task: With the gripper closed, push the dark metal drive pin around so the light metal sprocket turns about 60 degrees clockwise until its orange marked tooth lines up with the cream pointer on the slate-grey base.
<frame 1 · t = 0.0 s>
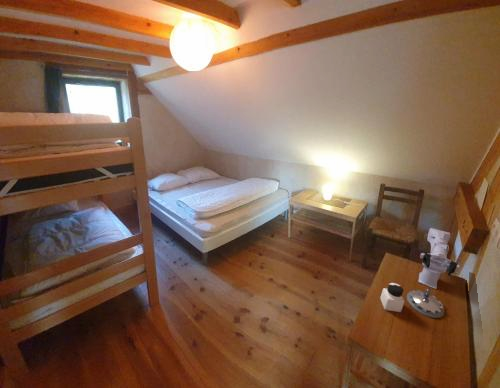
hand: (438, 269, 103), 22 cm above the table, tool horizontal, fingers open, 7 cm apart
medicine bottle: (390, 305, 112), on the table
sprocket: (424, 304, 112), resting on sprocket base, hinge at 0.0°
sprocket base: (424, 304, 112), on the table
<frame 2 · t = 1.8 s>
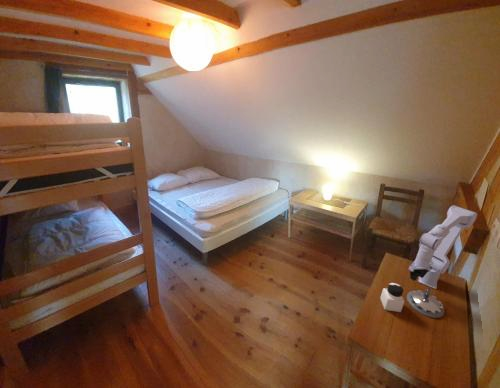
hand: (416, 278, 115), 9 cm above the table, tool pointing down, fingers open, 5 cm apart
nothing on the table moved.
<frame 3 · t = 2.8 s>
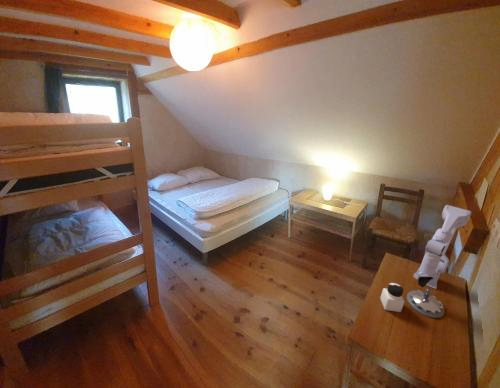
hand: (421, 285, 111), 9 cm above the table, tool pointing down, fingers closed
nothing on the table moved.
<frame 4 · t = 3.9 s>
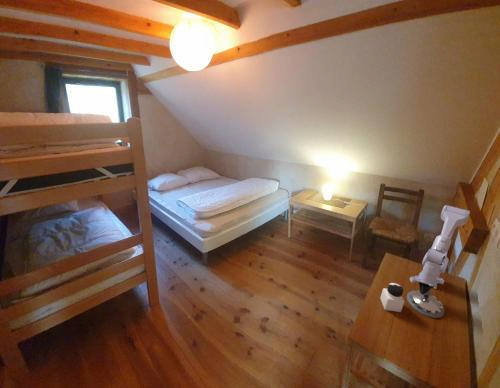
hand: (421, 292, 114), 3 cm above the table, tool pointing down, fingers closed
sprocket: (424, 304, 112), resting on sprocket base, hinge at -0.2°, touching gripper
everything else where it was.
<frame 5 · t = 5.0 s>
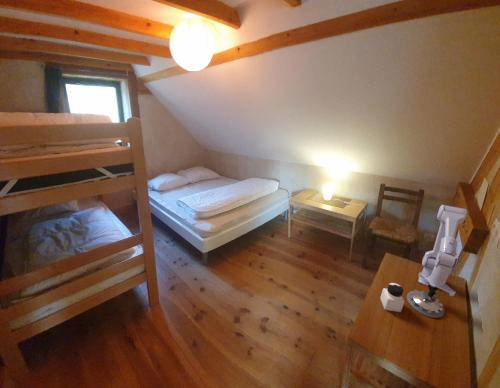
hand: (430, 296, 112), 3 cm above the table, tool pointing down, fingers closed, pressing on sprocket
sprocket: (424, 304, 112), resting on sprocket base, hinge at -44.2°, touching gripper
everything else where it was.
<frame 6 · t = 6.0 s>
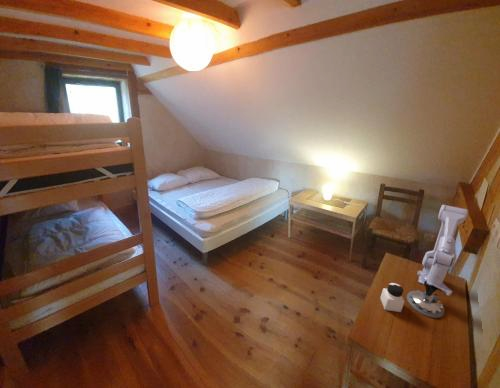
hand: (428, 294, 113), 3 cm above the table, tool pointing down, fingers closed
sprocket: (424, 304, 112), resting on sprocket base, hinge at -57.6°
everything else where it was.
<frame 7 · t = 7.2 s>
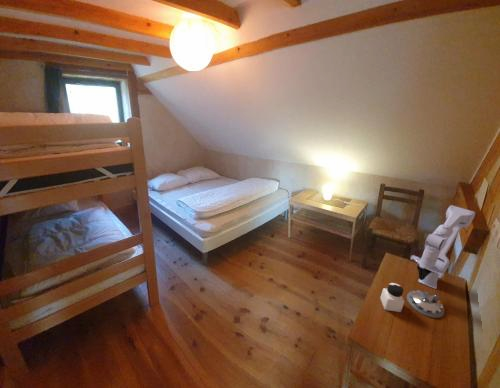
hand: (421, 278, 115), 9 cm above the table, tool pointing down, fingers closed
nothing on the table moved.
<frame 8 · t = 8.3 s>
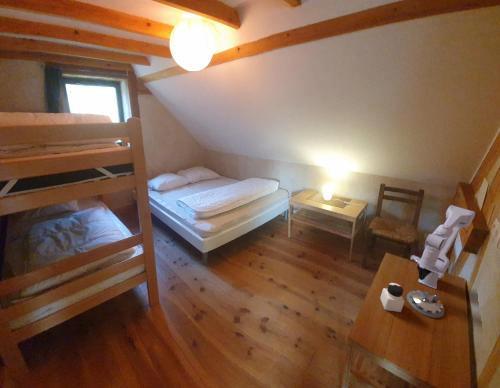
hand: (421, 278, 115), 9 cm above the table, tool pointing down, fingers closed
nothing on the table moved.
at the end: sprocket at -58° (first picture: +0°); medicine bottle moved 0.2 cm from its start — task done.
